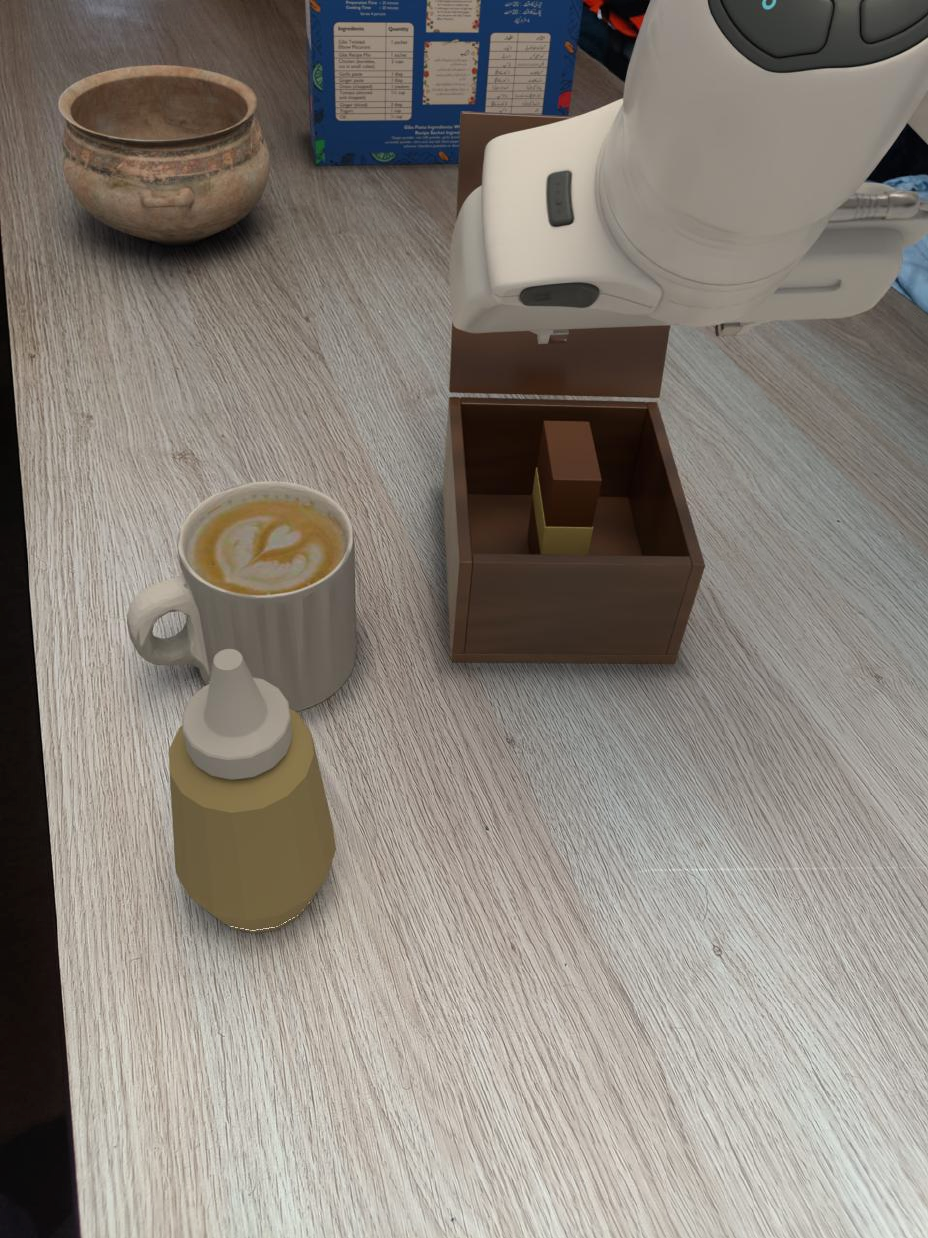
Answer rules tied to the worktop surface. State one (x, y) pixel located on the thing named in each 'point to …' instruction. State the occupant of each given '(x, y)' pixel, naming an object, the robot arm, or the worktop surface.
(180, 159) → the cooking pot
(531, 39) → the pasta box
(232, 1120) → the worktop surface
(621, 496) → the chest
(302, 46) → the worktop surface
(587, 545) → the chocolate bar
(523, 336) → the chest lid
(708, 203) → the robot arm
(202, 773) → the squeeze bottle
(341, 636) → the coffee mug
